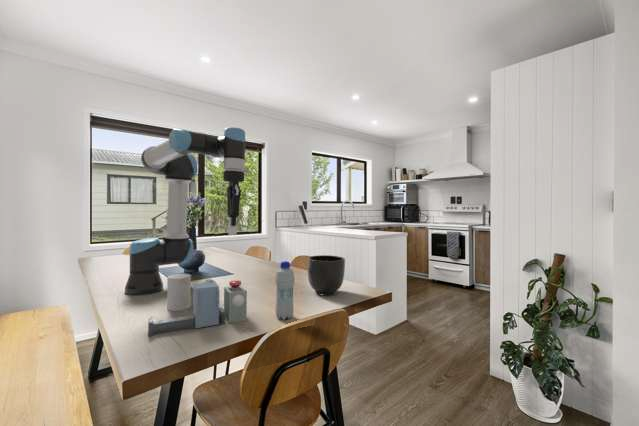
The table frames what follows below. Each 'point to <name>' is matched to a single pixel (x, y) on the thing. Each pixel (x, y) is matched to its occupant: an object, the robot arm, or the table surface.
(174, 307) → the cup
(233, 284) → the plunger
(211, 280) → the frog figurine
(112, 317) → the table surface
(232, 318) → the cabinet
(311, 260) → the planter
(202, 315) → the carriage
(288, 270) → the bottle
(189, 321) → the rail
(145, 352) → the table surface
